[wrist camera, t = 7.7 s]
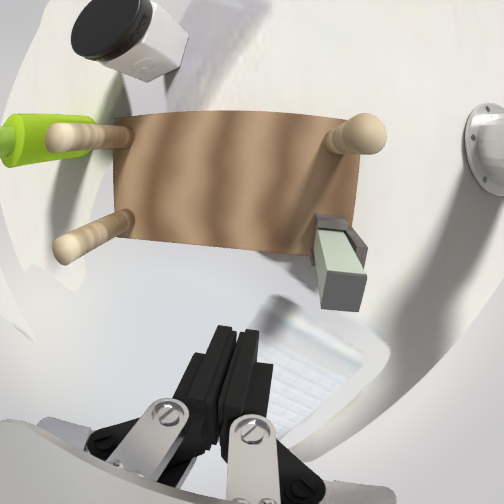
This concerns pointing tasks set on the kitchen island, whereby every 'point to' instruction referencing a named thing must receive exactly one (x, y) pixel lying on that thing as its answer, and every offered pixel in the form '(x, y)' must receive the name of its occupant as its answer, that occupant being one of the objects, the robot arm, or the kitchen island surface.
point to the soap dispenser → (33, 138)
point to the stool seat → (225, 179)
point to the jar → (129, 37)
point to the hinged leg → (338, 271)
